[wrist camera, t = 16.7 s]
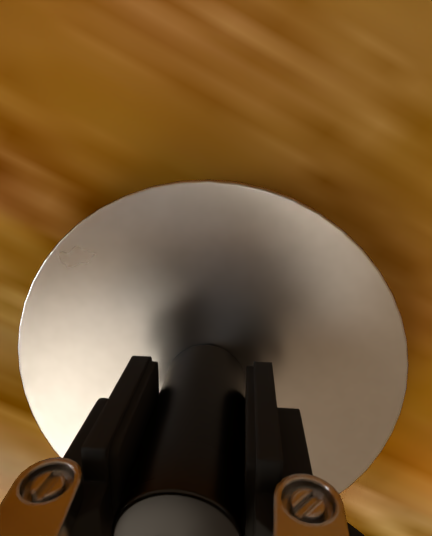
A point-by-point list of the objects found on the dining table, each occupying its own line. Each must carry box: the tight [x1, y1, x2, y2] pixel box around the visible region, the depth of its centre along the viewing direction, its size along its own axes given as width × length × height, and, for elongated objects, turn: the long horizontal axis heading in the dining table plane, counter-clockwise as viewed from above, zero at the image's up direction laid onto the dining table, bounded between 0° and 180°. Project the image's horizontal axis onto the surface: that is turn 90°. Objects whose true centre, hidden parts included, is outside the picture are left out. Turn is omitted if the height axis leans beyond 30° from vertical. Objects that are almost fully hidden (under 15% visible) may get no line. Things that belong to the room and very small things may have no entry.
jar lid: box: [18, 179, 408, 536], centre depth 11 cm, size 13×13×7 cm
